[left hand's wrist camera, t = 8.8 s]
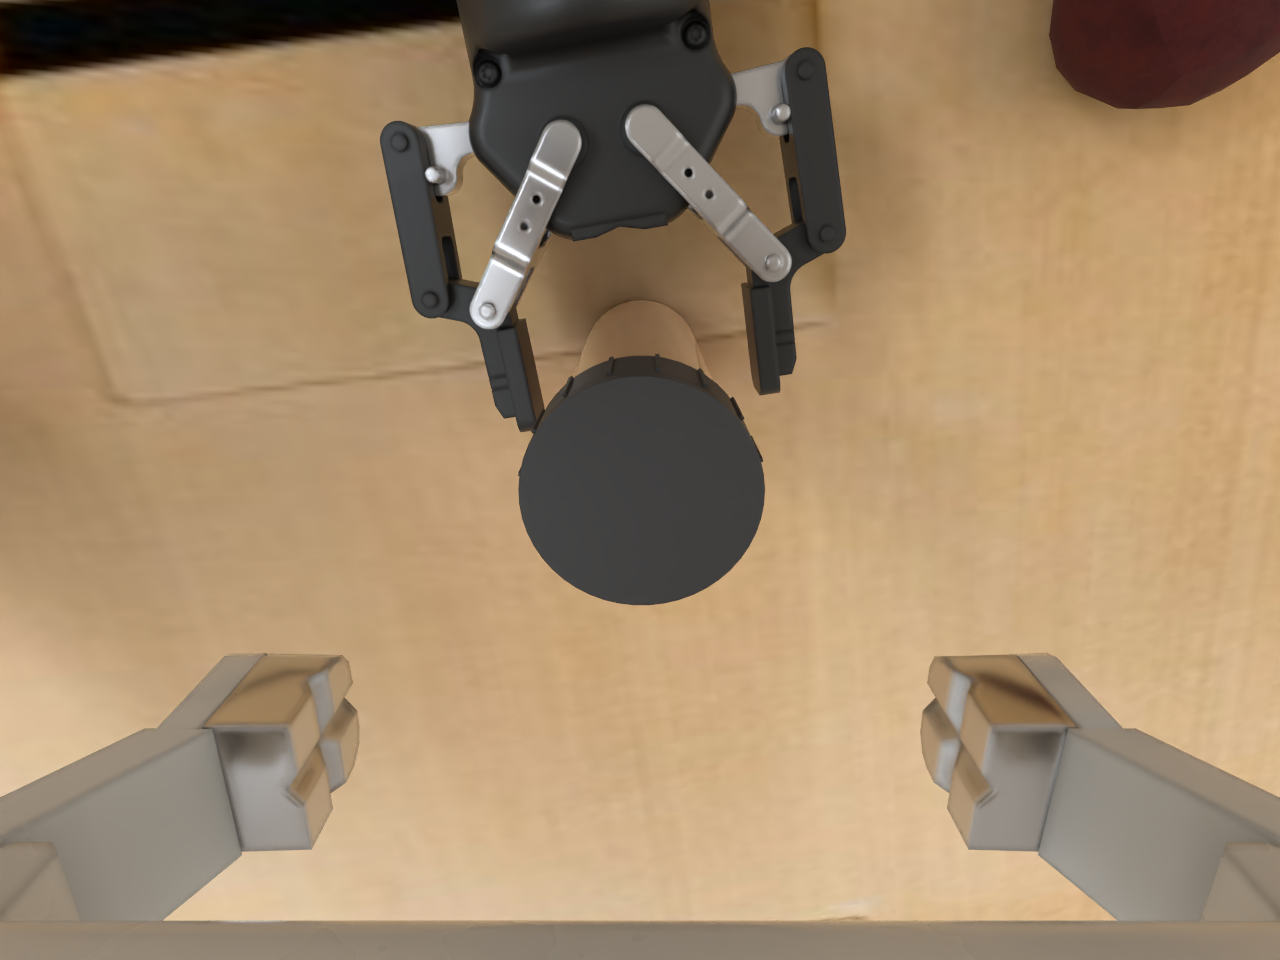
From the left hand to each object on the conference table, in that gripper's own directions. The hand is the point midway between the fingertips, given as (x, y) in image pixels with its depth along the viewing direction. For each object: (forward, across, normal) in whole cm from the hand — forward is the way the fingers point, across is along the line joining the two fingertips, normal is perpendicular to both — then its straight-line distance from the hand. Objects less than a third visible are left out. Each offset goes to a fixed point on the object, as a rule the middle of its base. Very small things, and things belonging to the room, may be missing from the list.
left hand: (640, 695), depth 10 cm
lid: (+8, 0, 0) cm, 8 cm away
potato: (+24, +18, +13) cm, 33 cm away
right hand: (+18, 0, 0) cm, 18 cm away
